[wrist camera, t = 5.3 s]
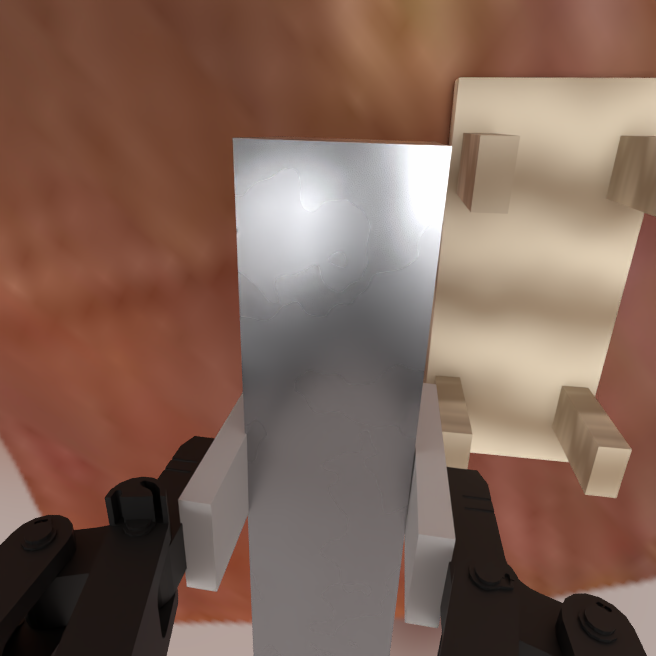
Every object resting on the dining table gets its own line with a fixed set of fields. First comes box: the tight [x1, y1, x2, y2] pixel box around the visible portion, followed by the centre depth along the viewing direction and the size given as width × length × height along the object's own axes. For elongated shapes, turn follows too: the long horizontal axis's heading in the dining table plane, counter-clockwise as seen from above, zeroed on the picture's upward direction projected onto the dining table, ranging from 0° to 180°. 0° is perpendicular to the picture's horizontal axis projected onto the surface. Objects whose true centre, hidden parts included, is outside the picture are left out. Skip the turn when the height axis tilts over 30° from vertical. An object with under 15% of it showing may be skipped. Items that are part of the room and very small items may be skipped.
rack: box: [423, 77, 656, 498], centre depth 25 cm, size 22×10×8 cm, turn 179°
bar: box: [233, 136, 452, 656], centre depth 15 cm, size 18×4×4 cm, turn 178°
